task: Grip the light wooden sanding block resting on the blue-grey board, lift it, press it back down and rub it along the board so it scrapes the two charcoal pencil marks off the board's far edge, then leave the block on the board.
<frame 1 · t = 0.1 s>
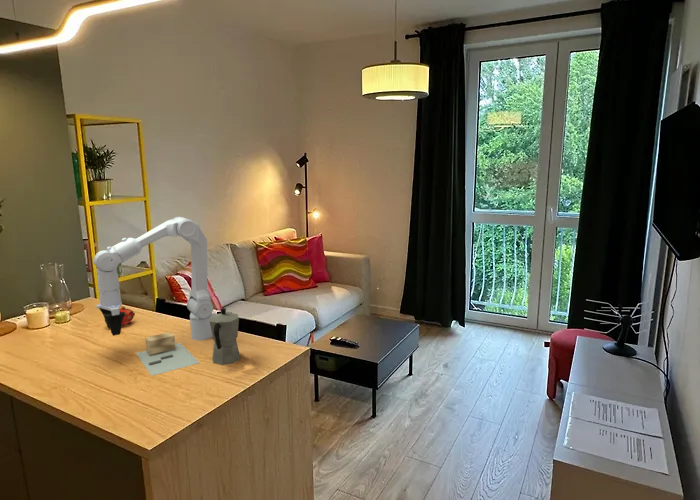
hand: (114, 331, 142), 10 cm above the worktop, tool pointing down, fingers open, 7 cm apart
dragon fruit: (121, 326, 176), on the worktop
sanding block: (161, 351, 148), point 1 cm above the worktop, touching board
pencil mark a: (166, 357, 143), point 1 cm above the worktop, touching board
coffeepot: (225, 365, 141), on the worktop
pencil mark b: (155, 363, 139), point 1 cm above the worktop, touching board
board: (167, 362, 143), on the worktop
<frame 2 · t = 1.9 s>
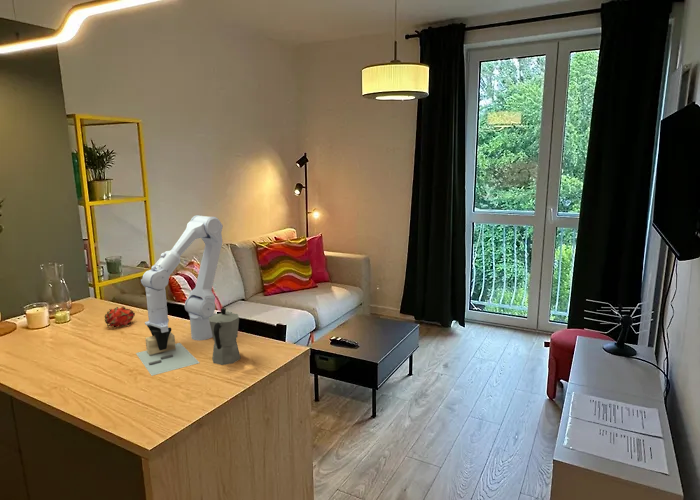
hand: (160, 347, 148), 3 cm above the worktop, tool pointing down, fingers closed on sanding block, 4 cm apart
sanding block: (161, 351, 148), point 1 cm above the worktop, touching board, gripper
everything else where it was.
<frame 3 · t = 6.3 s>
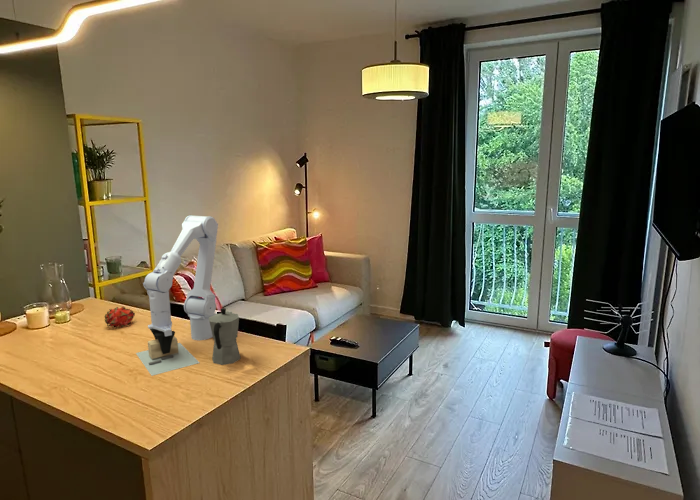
hand: (164, 350, 145), 3 cm above the worktop, tool pointing down, fingers closed on sanding block, 4 cm apart
sanding block: (163, 354, 145), point 2 cm above the worktop, touching gripper
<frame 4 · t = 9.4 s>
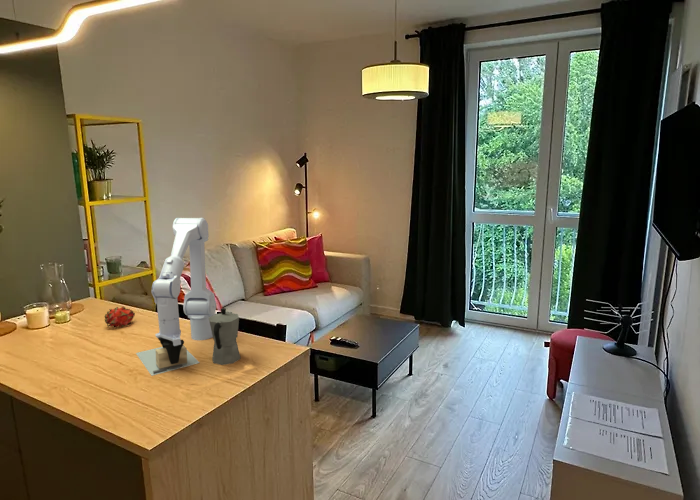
hand: (172, 360, 137), 3 cm above the worktop, tool pointing down, fingers closed on sanding block, 4 cm apart
sanding block: (171, 364, 137), point 2 cm above the worktop, touching gripper, pencil mark a
pencil mark a: (176, 367, 136), point 2 cm above the worktop, touching board, sanding block
pencil mark b: (159, 371, 133), point 2 cm above the worktop, touching board
everything else where it was.
when the fingers open (3 cm above the worktop, at t = 14.1 s): sanding block stays where it is, resting on board.
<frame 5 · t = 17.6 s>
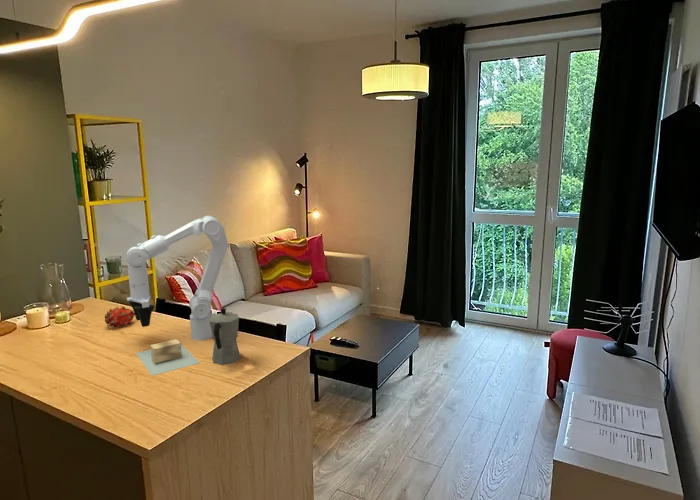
hand: (142, 322, 151), 9 cm above the worktop, tool pointing down, fingers open, 7 cm apart
sanding block: (166, 359, 142), point 1 cm above the worktop, touching board
pencil mark a: (178, 373, 135), on the worktop, tilted 91°
pencil mark b: (161, 379, 132), on the worktop, tilted 179°
everything else where it was.
at the end: pencil mark a touching worktop; pencil mark b touching worktop; sanding block inside the target area on the board (1.0 cm from its centre), point 1.5 cm above the board's base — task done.
